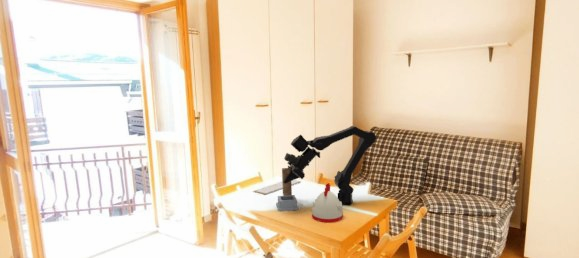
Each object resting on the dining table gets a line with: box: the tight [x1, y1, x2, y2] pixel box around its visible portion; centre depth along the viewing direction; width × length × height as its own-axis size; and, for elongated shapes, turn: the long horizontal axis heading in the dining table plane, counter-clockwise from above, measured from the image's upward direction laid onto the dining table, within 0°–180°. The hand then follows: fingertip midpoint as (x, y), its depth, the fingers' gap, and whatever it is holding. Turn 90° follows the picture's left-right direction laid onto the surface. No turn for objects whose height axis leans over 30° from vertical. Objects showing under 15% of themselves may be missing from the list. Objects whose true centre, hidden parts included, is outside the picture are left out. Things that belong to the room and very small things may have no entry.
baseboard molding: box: [252, 179, 301, 196], centre depth 195 cm, size 31×3×12 cm
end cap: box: [275, 194, 300, 212], centre depth 159 cm, size 10×10×4 cm
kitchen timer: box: [311, 182, 344, 224], centre depth 145 cm, size 14×14×15 cm
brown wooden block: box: [281, 167, 293, 196], centre depth 158 cm, size 4×3×13 cm
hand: (284, 181), depth 158 cm, fingers closed on brown wooden block, 3 cm apart
